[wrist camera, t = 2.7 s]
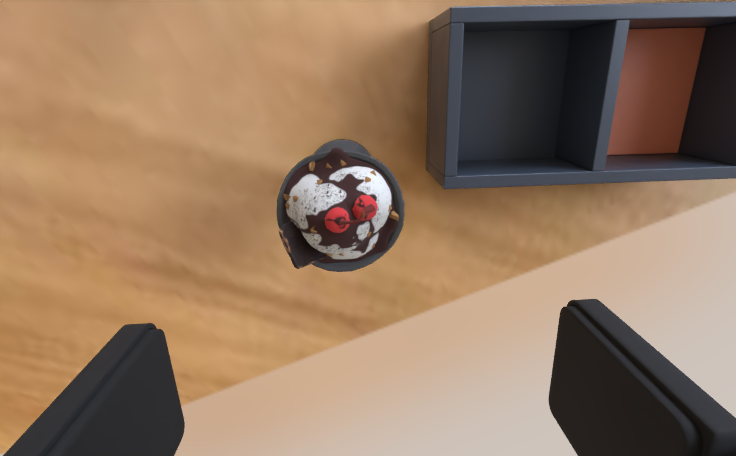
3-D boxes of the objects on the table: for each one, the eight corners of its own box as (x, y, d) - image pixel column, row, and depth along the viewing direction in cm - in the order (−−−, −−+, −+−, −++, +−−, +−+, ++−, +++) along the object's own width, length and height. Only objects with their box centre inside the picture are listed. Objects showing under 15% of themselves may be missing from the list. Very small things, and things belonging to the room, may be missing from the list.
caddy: (674, 160, 32) (744, 178, 27) (425, 169, 31) (443, 189, 26) (707, 15, 29) (795, 0, 23) (429, 21, 28) (450, 6, 22)
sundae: (389, 128, 30) (428, 170, 16) (383, 215, 32) (413, 321, 18) (297, 124, 30) (254, 164, 16) (298, 213, 32) (261, 319, 18)
